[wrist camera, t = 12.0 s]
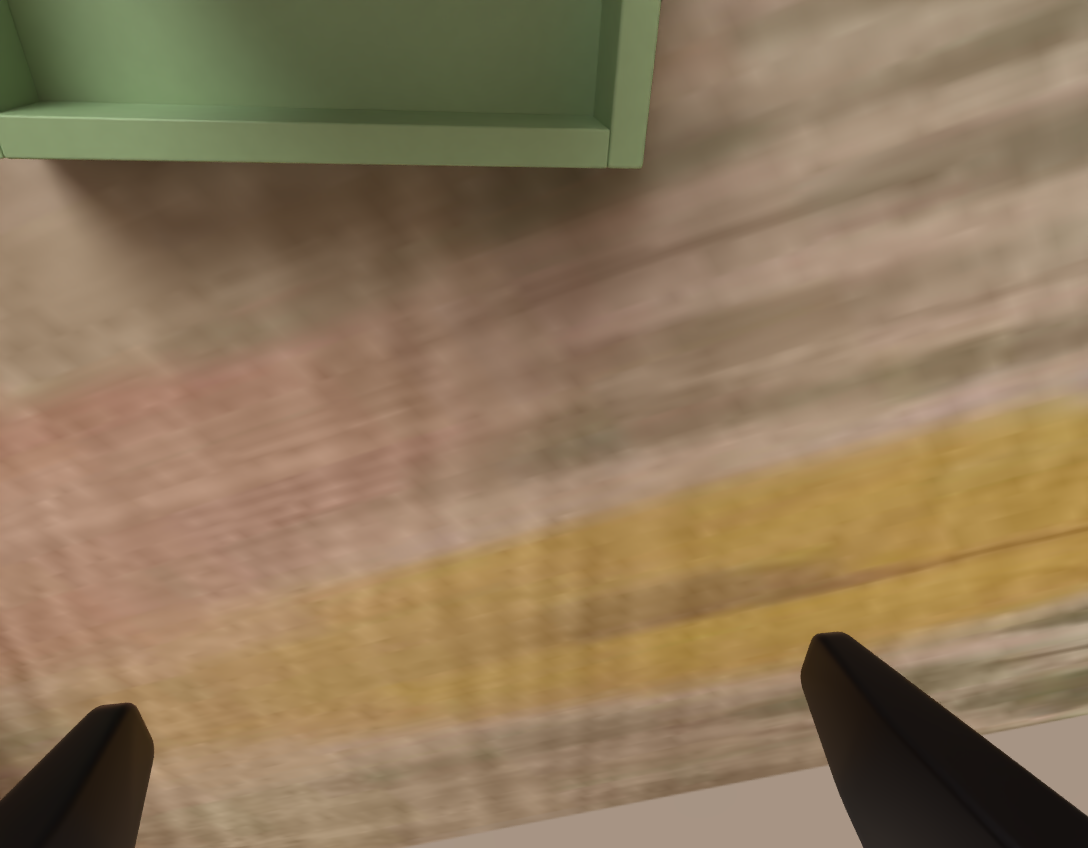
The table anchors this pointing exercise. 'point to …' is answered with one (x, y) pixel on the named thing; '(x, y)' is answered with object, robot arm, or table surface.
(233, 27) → the tray
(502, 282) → the table surface
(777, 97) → the table surface
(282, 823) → the table surface
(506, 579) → the table surface
